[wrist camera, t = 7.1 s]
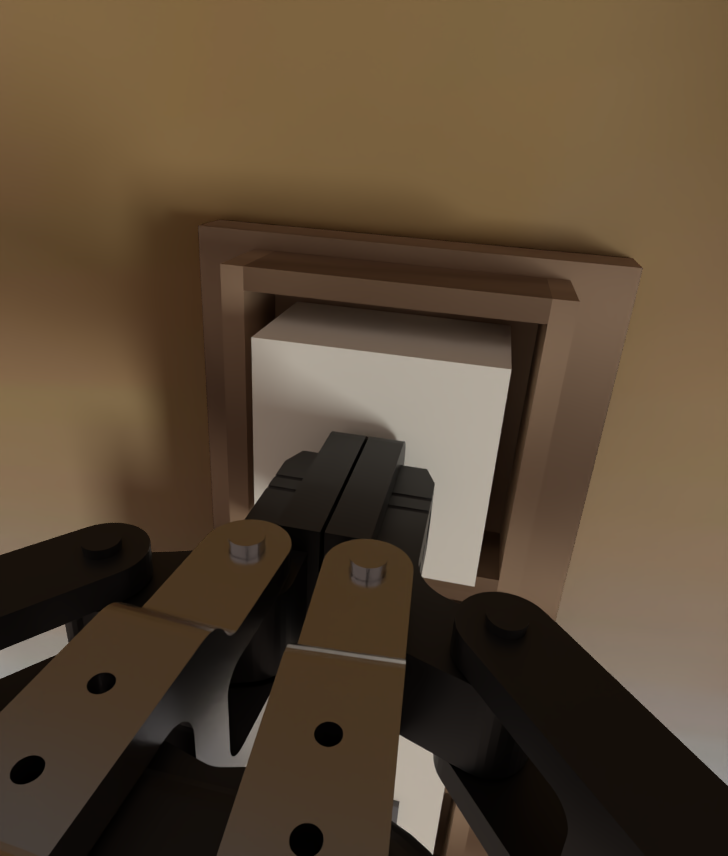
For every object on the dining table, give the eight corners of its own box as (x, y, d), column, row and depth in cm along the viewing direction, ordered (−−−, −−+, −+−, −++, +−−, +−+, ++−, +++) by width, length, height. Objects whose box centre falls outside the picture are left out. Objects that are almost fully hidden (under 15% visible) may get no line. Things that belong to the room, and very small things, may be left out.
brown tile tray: (219, 219, 16) (155, 237, 13) (632, 258, 14) (664, 288, 11) (240, 789, 25) (207, 871, 22) (490, 850, 24) (488, 947, 21)
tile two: (274, 579, 16) (226, 670, 14) (465, 616, 16) (457, 720, 13) (274, 714, 19) (233, 816, 16) (443, 752, 18) (430, 866, 15)
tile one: (297, 301, 15) (248, 339, 12) (510, 325, 14) (511, 371, 11) (294, 483, 17) (252, 550, 14) (479, 512, 16) (474, 591, 13)
